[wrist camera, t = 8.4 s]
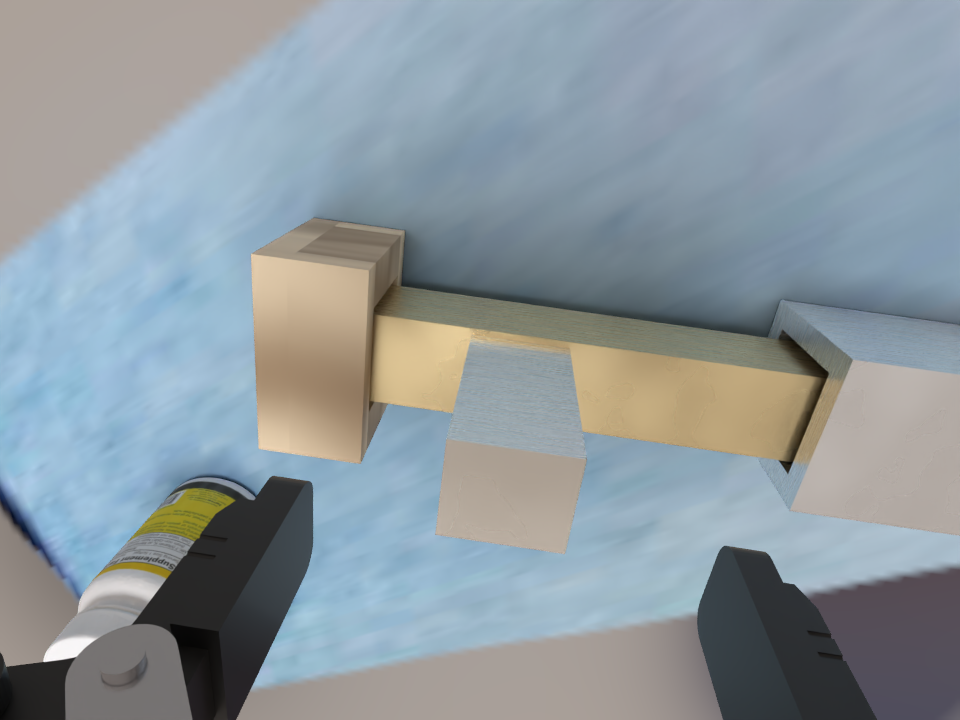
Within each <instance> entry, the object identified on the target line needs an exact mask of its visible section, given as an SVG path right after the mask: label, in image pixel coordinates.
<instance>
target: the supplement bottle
mask: <svg viewBox="0 0 960 720" xmlns="http://www.w3.org/2000/svg"><path fill="white" fill-rule="evenodd" d="M239 498H243V499H249V500H255V496H253V495H252V494H251V493H250V492H249V491H247V490H246V489H245V488H243V487H241V486H239V485H238V484H235V483H233V482H231V481H228V480H224V479H220V478H197V479H193V480H189V481H187V482H185V483H183V484H181V485H180V486H179V487H177V488H176V489H175V490H174V491H173V492H172V493H171V494H170V495H169V496H168V497H167V499H166V500H165V501H164V502H163V503H162V504H161V505H160V507H158V509H157V510H156V511H155V512H154V513H153V514H152V515H151V516H150V517H149V518H148V520H147V521H146V522H145V523H144V524H143V525H142V526H141V527H140V528H139V530H138V531H137V532H136V533H135V534H134V535H133V536H132V537H131V539H130V540H129V541H128V542H127V543H126V544H125V545H124V546H123V547H122V548H121V550H120V551H119V552H118V553H117V554H116V555H115V556H114V557H113V559H112V560H111V561H110V562H109V563H108V564H107V565H106V566H105V567H104V569H103V570H102V571H101V572H100V573H99V574H98V575H97V576H96V577H95V578H94V579H93V581H92V582H91V583H90V584H89V586H88V587H87V589H86V590H85V591H84V593H83V595H82V597H81V599H80V602H79V607H78V614H77V615H76V616H75V617H74V618H73V619H72V620H71V621H70V622H69V623H68V625H67V626H66V627H65V629H64V630H63V631H62V632H61V633H60V635H59V636H58V637H57V638H56V639H55V641H54V642H53V643H52V644H51V646H50V647H49V648H48V650H47V652H46V654H45V656H44V662H48V661H56V660H63V659H69V658H74V657H77V656H78V655H79V654H80V653H81V651H82V650H83V649H84V648H86V647H87V646H88V645H89V644H90V643H92V642H93V641H95V640H96V639H98V638H99V637H101V636H103V635H105V634H107V633H109V632H110V631H113V630H116V629H118V628H121V627H125V626H129V625H132V623H133V622H134V621H135V620H136V619H137V617H138V616H139V615H140V613H141V612H142V611H143V609H144V608H145V607H146V605H147V604H148V603H149V601H150V600H151V599H152V598H153V596H154V595H155V594H156V592H157V591H158V590H159V588H160V587H161V586H162V584H163V583H164V582H165V580H166V579H167V578H168V576H169V575H170V574H171V572H172V571H173V570H174V568H175V567H176V566H177V564H178V563H179V562H180V560H181V559H182V558H183V556H186V555H187V551H188V550H189V548H190V547H191V546H192V544H193V543H194V542H195V540H196V539H197V538H200V534H201V533H202V531H203V530H204V529H205V527H206V526H207V525H208V523H209V522H210V521H211V519H212V518H213V517H214V515H215V514H216V513H218V512H219V511H221V510H222V509H224V508H225V507H227V506H228V505H230V504H231V503H233V502H234V501H236V500H237V499H239Z"/></svg>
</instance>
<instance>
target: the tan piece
mask: <svg viewBox="0 0 960 720" xmlns="http://www.w3.org/2000/svg"><path fill="white" fill-rule="evenodd" d="M828 375H829V372H828V371H827V370H825V369H824V368H823V367H822V366H821V365H820V364H819V363H818V362H817V361H816V360H815V359H814V358H813V357H812V356H811V355H809V354H808V353H807V352H806V351H805V350H804V349H803V348H802V347H801V346H800V345H799V344H798V343H797V342H794V341H786V340H779V339H772V338H765V337H758V336H751V335H744V334H737V333H730V332H722V331H715V330H708V329H701V328H694V327H687V326H680V325H673V324H666V323H659V322H651V321H644V320H637V319H630V318H623V317H616V316H609V315H602V314H595V313H587V312H580V311H573V310H566V309H559V308H552V307H545V306H538V305H531V304H524V303H516V302H509V301H502V300H495V299H488V298H481V297H474V296H467V295H460V294H452V293H445V292H438V291H431V290H424V289H417V288H410V287H403V286H396V285H390V287H389V288H388V289H387V291H386V292H385V294H384V295H383V296H382V298H381V299H380V301H379V302H378V303H377V305H376V306H375V307H374V311H373V331H372V352H371V372H370V392H369V401H374V402H381V403H388V404H395V405H402V406H409V407H416V408H423V409H429V410H436V411H443V412H450V413H453V414H452V418H451V422H450V426H449V430H448V435H447V439H446V447H445V456H444V465H443V473H442V482H441V491H440V499H439V508H438V517H437V526H436V534H435V535H441V536H448V537H454V538H461V539H468V540H475V541H481V542H488V543H495V544H501V545H508V546H515V547H522V548H528V549H535V550H542V551H549V552H555V553H562V554H565V551H566V547H567V542H568V538H569V534H570V530H571V525H572V521H573V517H574V513H575V508H576V504H577V500H578V496H579V491H580V487H581V483H582V478H583V474H584V470H585V466H586V461H587V457H586V450H585V444H584V437H583V432H588V433H595V434H602V435H609V436H616V437H623V438H630V439H637V440H644V441H651V442H657V443H664V444H671V445H678V446H685V447H692V448H699V449H706V450H713V451H720V452H727V453H733V454H740V455H747V456H754V457H761V458H768V459H775V460H782V461H789V462H793V461H794V459H795V456H796V454H797V452H798V449H799V447H800V444H801V442H802V439H803V437H804V434H805V432H806V429H807V427H808V425H809V422H810V420H811V417H812V415H813V412H814V410H815V407H816V405H817V402H818V400H819V398H820V395H821V393H822V390H823V388H824V385H825V383H826V380H827V378H828Z"/></svg>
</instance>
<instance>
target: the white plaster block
mask: <svg viewBox="0 0 960 720" xmlns="http://www.w3.org/2000/svg"><path fill="white" fill-rule="evenodd" d="M768 338H772V339H779V340H786V341H794V342H797V343H798V344H799V345H800V346H801V347H802V348H803V349H804V350H805V351H806V352H807V353H808V354H809V355H811V356H812V357H813V358H814V359H815V360H816V361H817V362H818V363H819V364H820V365H821V366H822V367H823V368H824V369H825V370H827V371H828V372H829V375H828V378H827V380H826V383H825V385H824V388H823V390H822V393H821V395H820V398H819V400H818V402H817V405H816V407H815V410H814V412H813V415H812V417H811V420H810V422H809V425H808V427H807V429H806V432H805V434H804V437H803V439H802V442H801V444H800V447H799V449H798V452H797V454H796V456H795V459H794V461H793V462H789V461H782V460H775V459H768V458H761V457H757V459H758V461H759V462H760V464H761V465H762V467H763V469H764V470H765V472H766V473H767V475H768V477H769V478H770V480H771V482H772V483H773V485H774V486H775V488H776V490H777V491H778V493H779V494H780V496H781V498H782V499H783V501H784V502H785V504H786V506H787V507H788V509H789V511H795V512H802V513H809V514H815V515H822V516H829V517H836V518H843V519H850V520H856V521H863V522H870V523H877V524H884V525H891V526H897V527H904V528H911V529H918V530H925V531H932V532H938V533H945V534H952V535H959V536H960V325H959V324H951V323H944V322H937V321H930V320H923V319H916V318H908V317H901V316H894V315H887V314H880V313H872V312H865V311H858V310H851V309H844V308H837V307H829V306H822V305H815V304H808V303H801V302H794V301H786V300H781V301H780V303H779V306H778V309H777V312H776V315H775V318H774V321H773V323H772V326H771V329H770V332H769V335H768Z"/></svg>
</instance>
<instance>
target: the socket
mask: <svg viewBox="0 0 960 720" xmlns="http://www.w3.org/2000/svg"><path fill="white" fill-rule="evenodd" d="M404 240H405V230H397V229H390V228H383V227H376V226H369V225H361V224H354V223H347V222H340V221H333V220H325V219H318V218H312V219H311V220H309V221H307V222H305V223H304V224H302V225H300V226H298V227H297V228H295V229H293V230H291V231H290V232H288V233H286V234H285V235H283V236H281V237H279V238H278V239H276V240H274V241H272V242H271V243H269V244H267V245H266V246H264V247H262V248H260V249H259V250H257V251H255V252H253V253H252V254H251V266H252V291H253V316H254V341H255V366H256V391H257V416H258V441H259V449H263V450H270V451H277V452H283V453H290V454H297V455H304V456H311V457H317V458H324V459H331V460H338V461H345V462H352V463H358V464H361V461H362V459H363V457H364V455H365V453H366V450H367V448H368V446H369V444H370V442H371V439H372V437H373V435H374V433H375V431H376V428H377V426H378V424H379V422H380V420H381V418H382V415H383V413H384V411H385V409H386V407H387V404H388V403H381V402H374V401H369V392H370V372H371V352H372V331H373V311H374V307H375V306H376V305H377V303H378V302H379V301H380V299H381V298H382V296H383V295H384V294H385V292H386V291H387V289H388V288H389V287H390V285H396V286H401V284H402V269H403V255H404Z"/></svg>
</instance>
